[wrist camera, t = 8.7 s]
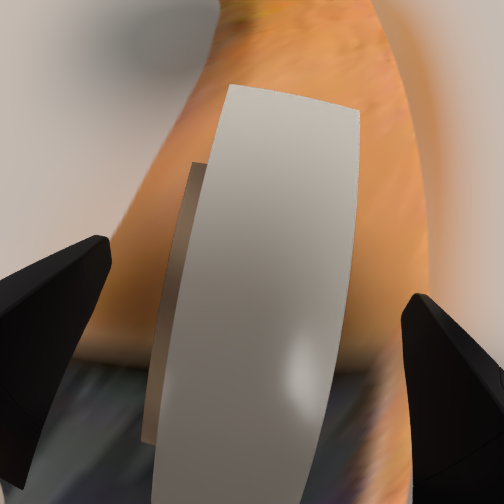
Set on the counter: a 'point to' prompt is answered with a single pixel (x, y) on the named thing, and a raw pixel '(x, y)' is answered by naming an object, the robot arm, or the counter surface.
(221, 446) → the clay slab
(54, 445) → the counter surface
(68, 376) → the counter surface
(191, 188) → the flanged channel block
